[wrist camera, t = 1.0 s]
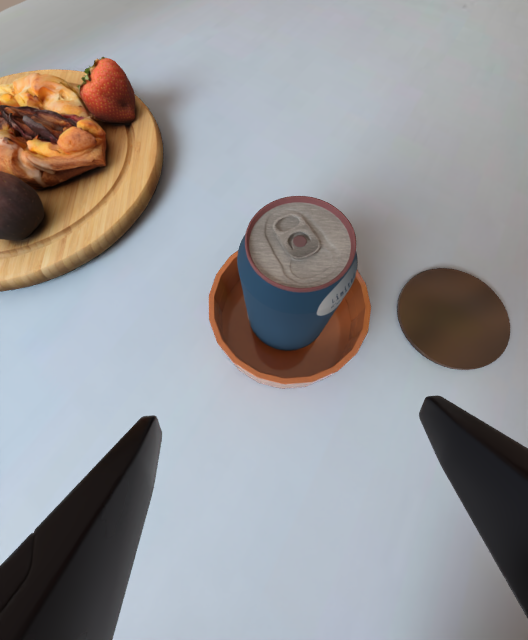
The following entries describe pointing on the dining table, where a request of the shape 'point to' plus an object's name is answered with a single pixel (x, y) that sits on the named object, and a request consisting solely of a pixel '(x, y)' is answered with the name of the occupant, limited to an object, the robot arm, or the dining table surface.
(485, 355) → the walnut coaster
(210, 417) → the dining table surface
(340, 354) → the orange bowl
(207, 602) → the dining table surface
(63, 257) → the wooden plate
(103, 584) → the robot arm
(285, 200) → the soda can
